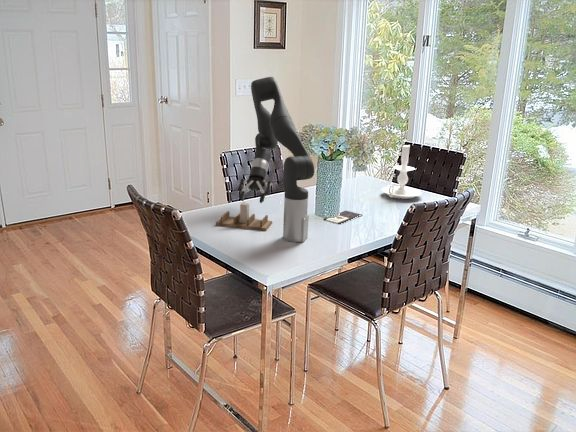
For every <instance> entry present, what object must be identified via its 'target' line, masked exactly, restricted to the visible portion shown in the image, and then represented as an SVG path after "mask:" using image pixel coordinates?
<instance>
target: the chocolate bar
mask: <svg viewBox="0 0 576 432" xmlns="http://www.w3.org/2000/svg"><path fill="white" fill-rule="evenodd" d="M339 213H340V215H339V216H338V217H335V218H327V217H325V218H323V221H326V220H327V221H326V222H329V223H333V222H334V224H337V223H338V224H337V225H342V224H341V223H343V224H344V222H345V223H347V222H346V221H348V220H350V221H352V220H351V219H353V218H355V217H357V216H359V215H362V214H361V213H357V212H354V211H350V210H343V211H341V212H339ZM355 219H356V218H355ZM353 220H354V219H353ZM348 222H349V221H348Z"/></svg>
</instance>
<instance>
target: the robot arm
mask: <svg viewBox="0 0 576 432" xmlns="http://www.w3.org/2000/svg"><path fill="white" fill-rule="evenodd" d="M250 90H251V97H252V101H253V106H254V109H255V110H254V111H255V114H256V120H257V132H258V133H257V134H256V135H255V138H254V143H255V153H254V158H253V161H252V164H251V168H250V171H249V175H248V179H244V178H241V179H240V182H239V183H238V184H239V185H238V187H237V190H238V192H239V193H240V195H239V198H240V201H242V202H244V201H245V196H246V193H248V192H250V191H256V192H257V191H258V192H259V191H260V197H259V203H260V204H262V203H264V202H265V197H266V196H270V195H271V189H272V182H271V181H270V180H269V181H266V178H267V174H268V171H269V163H270V159H271V152H270V151H269V150H274V149H276V148H277V146H278V145H279V144H281V146H283V147H284V148H286V149H287V150H288V151H289V152H290V153H291V154H292V155H293V156H287V157H286V158H285V159H284V161H283V191H284V192H283V193H284V199H283V226H282V227H283V229H282V230H283V231H282V232H283V233H282V238H283V240H284V241H286V242H291V243H304V242H305V241H306V240H307V239H308V236H309V235H308V233H309V214H308V206H309V205H308V203H309V191H308V189H306V188H304V187H300V186H298V183H297V182H298V181H306V180H310V179H312V178H313V177H314V175H315V165H314V162H313V159H312V157H311V156H310V153H309V152H308V151H307V149H306V147H305V145H304V143H303V141H302V139H301V137H300V135H299V134H298V131H297V128H296V126H295V123H294V121H293V119H292V117H291V115H290V113H289V109H287V107H286V104H285V101H284V99H283V95H282V92H281V90H280V88H279V85H278V82H277V80H276V79H275V77H274V76H267V77H263V78H259V79H255V80H252V81H251V84H250ZM269 100H273V102H274V103H273V108H272V111H271V112H270V111H269V110H267V108H265V106H264V105H263V103H262V102H266V101H269ZM278 142H279V143H278ZM264 187H266V190H264Z"/></svg>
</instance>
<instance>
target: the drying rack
mask: <svg viewBox="0 0 576 432" xmlns="http://www.w3.org/2000/svg"><path fill="white" fill-rule="evenodd" d="M268 218H269V216H268V215H267V214H266V215H265V216H264V217H263V218H262V219H256V214H255V213H253V214H251V215H249V218H248V219H247V223H240V212H239V213H238V214H237V215H236V216H230V210H227V211H226V212H225V213H224V214H222V215H221V216H220V219H218V220H217V221H216V222H215V226H221V227H226V228H227V227H228V228H236V229H244V230H256V231H264V232H267V231H268V230H269V228H270V227H271V226H272V224H273V221H272V220H268Z"/></svg>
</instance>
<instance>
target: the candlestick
mask: <svg viewBox="0 0 576 432" xmlns="http://www.w3.org/2000/svg"><path fill="white" fill-rule="evenodd" d="M401 147H402V148H401V158H400V161H401V165H394V166H392V168H393V169H395V170H397V171H399V174H398V175H397V183H398V184H399V186H398V185H396V186H394V185H393V184H392V185H391V184H390V185H388V186H385V187H383V188H382V187H381V191H382V192H383V193H385V194H386V195H387V196H389V197H390V198H394V199H400V198H401V199H402V200H403V199H404V200H406V199H407V200H408V199H414V198H416V197H418V196H421V195H422V192H421V190H419V189H416V188H412V187H408V186H405V185H407V183H408V182H409V176H408V172H411V171H414V170H416V168H415V167H413V166H408V164H409V158H410V157H409V155H410V148H411V145H410V144H408V145H407V144H404V145H402V146H401ZM401 199H400V200H401Z"/></svg>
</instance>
